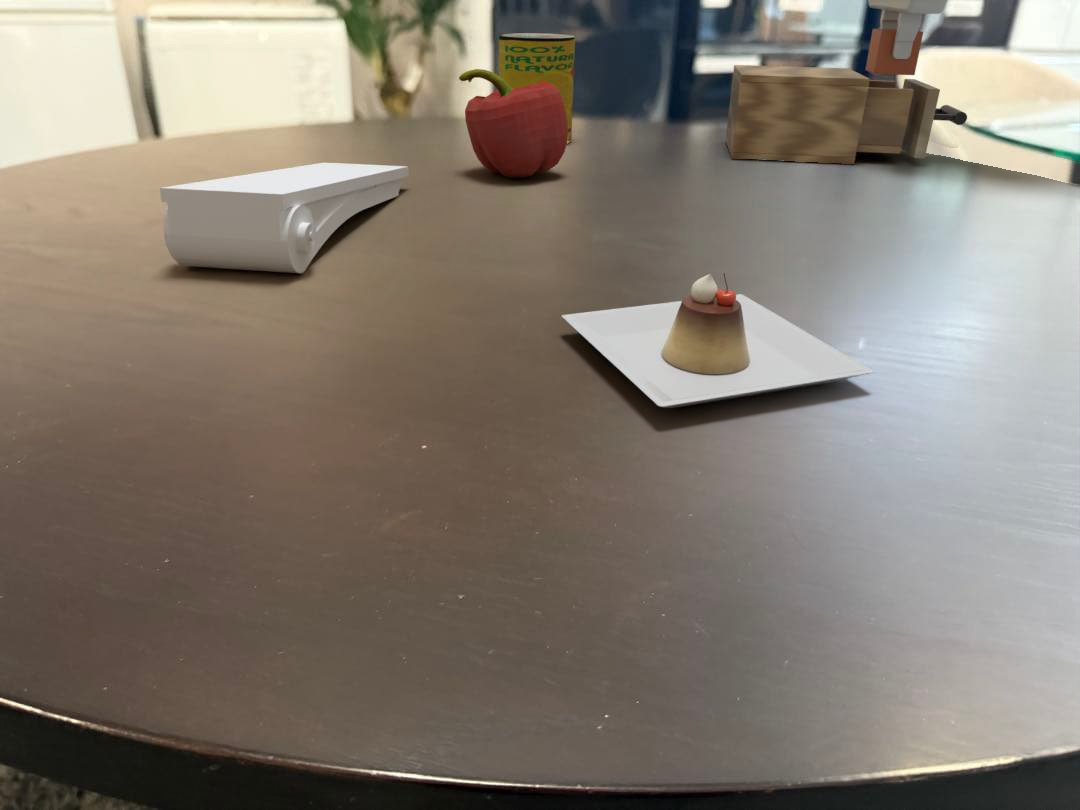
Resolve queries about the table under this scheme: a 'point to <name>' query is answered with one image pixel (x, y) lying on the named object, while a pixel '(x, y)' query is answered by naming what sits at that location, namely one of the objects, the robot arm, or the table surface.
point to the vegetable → (516, 126)
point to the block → (882, 58)
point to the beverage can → (539, 63)
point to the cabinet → (796, 113)
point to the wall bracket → (270, 214)
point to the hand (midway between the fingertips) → (893, 56)
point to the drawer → (902, 117)
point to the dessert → (711, 348)
